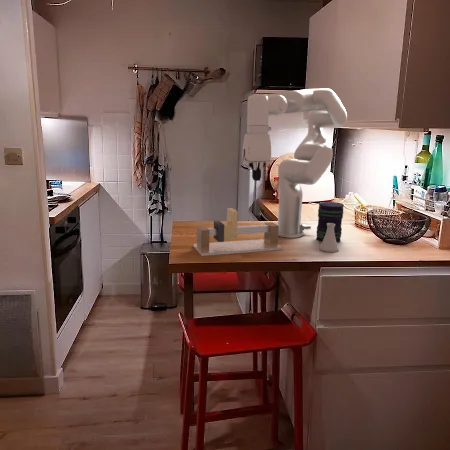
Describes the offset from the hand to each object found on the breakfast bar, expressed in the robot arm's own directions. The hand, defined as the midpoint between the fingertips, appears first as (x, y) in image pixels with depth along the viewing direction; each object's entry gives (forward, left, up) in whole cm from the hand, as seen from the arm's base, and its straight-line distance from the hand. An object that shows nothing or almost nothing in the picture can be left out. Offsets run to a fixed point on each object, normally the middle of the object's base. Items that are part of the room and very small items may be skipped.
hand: (256, 180), depth 166 cm
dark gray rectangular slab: (+16, +4, -21) cm, 27 cm away
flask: (-25, +14, -25) cm, 38 cm away
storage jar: (-32, +2, -25) cm, 41 cm away
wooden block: (+12, +4, -21) cm, 24 cm away
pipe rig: (+8, +4, -25) cm, 26 cm away
